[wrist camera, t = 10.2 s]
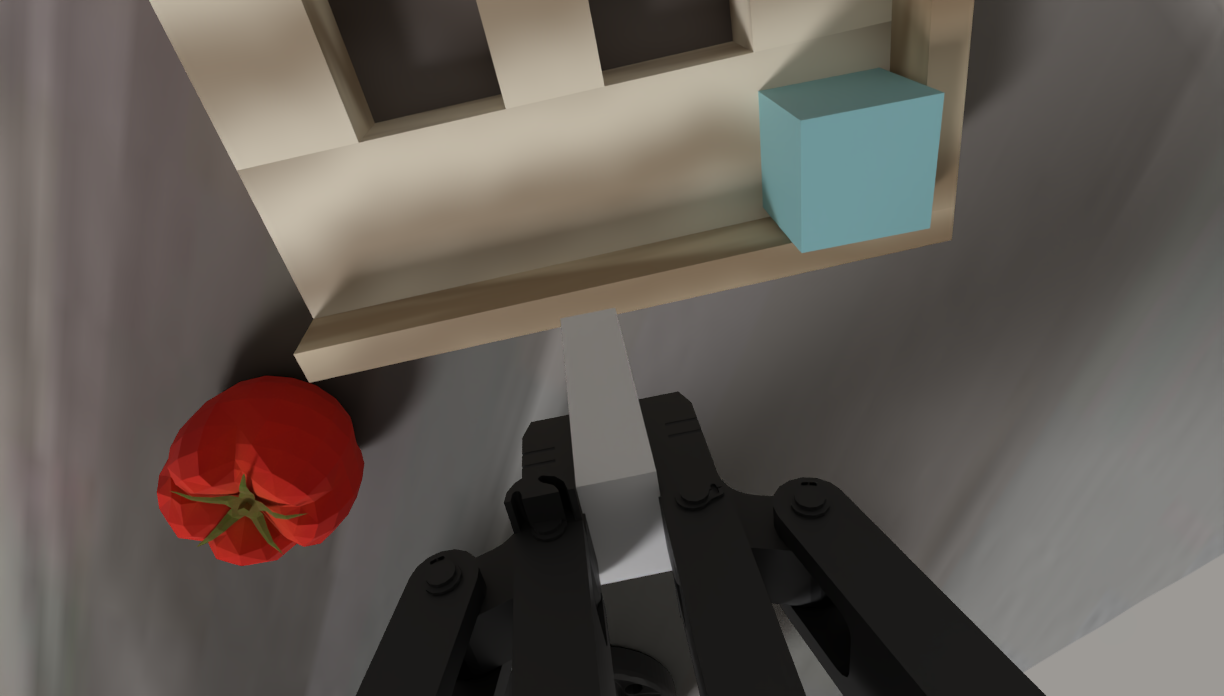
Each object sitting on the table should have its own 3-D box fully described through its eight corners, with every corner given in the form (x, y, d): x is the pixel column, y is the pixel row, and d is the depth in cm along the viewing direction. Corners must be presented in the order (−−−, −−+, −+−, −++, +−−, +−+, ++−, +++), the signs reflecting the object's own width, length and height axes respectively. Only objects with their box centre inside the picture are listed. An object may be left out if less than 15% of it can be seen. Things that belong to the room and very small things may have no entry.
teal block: (872, 186, 29) (930, 228, 25) (762, 207, 29) (801, 252, 25) (879, 67, 27) (944, 92, 22) (758, 91, 27) (800, 120, 22)
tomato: (352, 350, 35) (312, 441, 29) (387, 474, 40) (359, 575, 34) (169, 364, 34) (87, 460, 28) (226, 488, 39) (168, 594, 33)
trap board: (882, 189, 33) (951, 239, 28) (345, 309, 34) (309, 382, 28) (896, -252, 24) (1003, -306, 19) (159, -78, 25) (52, -81, 19)
